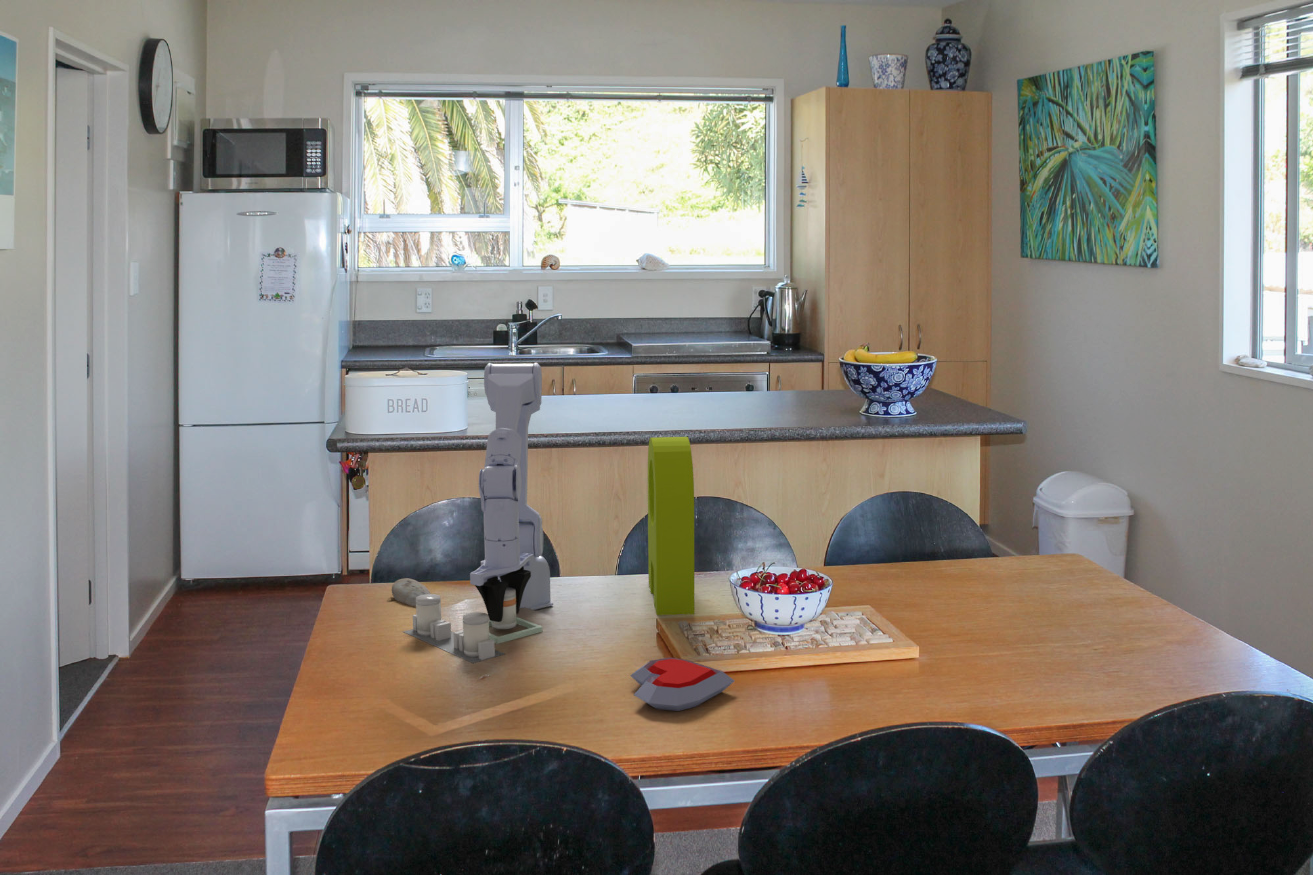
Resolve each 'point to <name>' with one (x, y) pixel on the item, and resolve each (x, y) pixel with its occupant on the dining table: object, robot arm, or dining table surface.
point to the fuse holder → (453, 641)
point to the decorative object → (671, 525)
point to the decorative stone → (408, 591)
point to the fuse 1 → (427, 612)
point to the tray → (532, 630)
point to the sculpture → (678, 683)
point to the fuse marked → (507, 611)
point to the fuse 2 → (474, 632)
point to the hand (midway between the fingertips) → (504, 616)
